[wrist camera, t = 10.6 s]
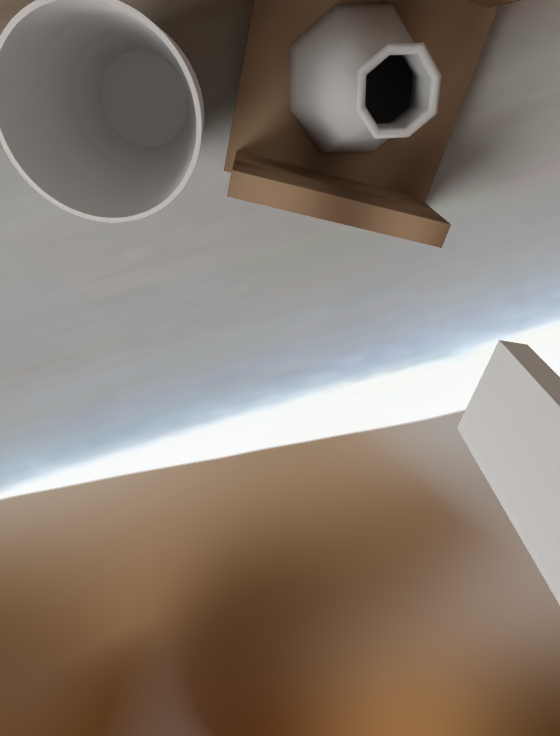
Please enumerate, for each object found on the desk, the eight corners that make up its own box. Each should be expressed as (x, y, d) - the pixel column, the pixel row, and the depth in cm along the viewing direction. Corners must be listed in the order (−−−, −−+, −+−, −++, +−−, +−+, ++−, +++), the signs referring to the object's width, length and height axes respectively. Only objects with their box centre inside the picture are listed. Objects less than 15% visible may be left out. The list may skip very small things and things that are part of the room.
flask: (404, -26, 25) (483, -73, 16) (433, 127, 28) (510, 154, 20) (266, 35, 26) (270, 21, 17) (311, 175, 29) (333, 221, 21)
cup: (164, -21, 26) (117, -62, 17) (244, 133, 30) (239, 163, 21) (38, 67, 27) (-60, 69, 19) (130, 201, 31) (82, 255, 23)
